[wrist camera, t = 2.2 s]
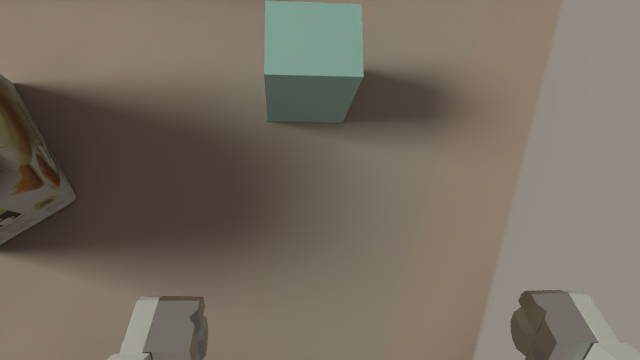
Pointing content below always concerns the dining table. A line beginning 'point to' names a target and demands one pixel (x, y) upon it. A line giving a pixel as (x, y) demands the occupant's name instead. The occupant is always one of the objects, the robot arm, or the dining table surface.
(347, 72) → the teal block
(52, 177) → the coffee box
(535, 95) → the dining table surface
